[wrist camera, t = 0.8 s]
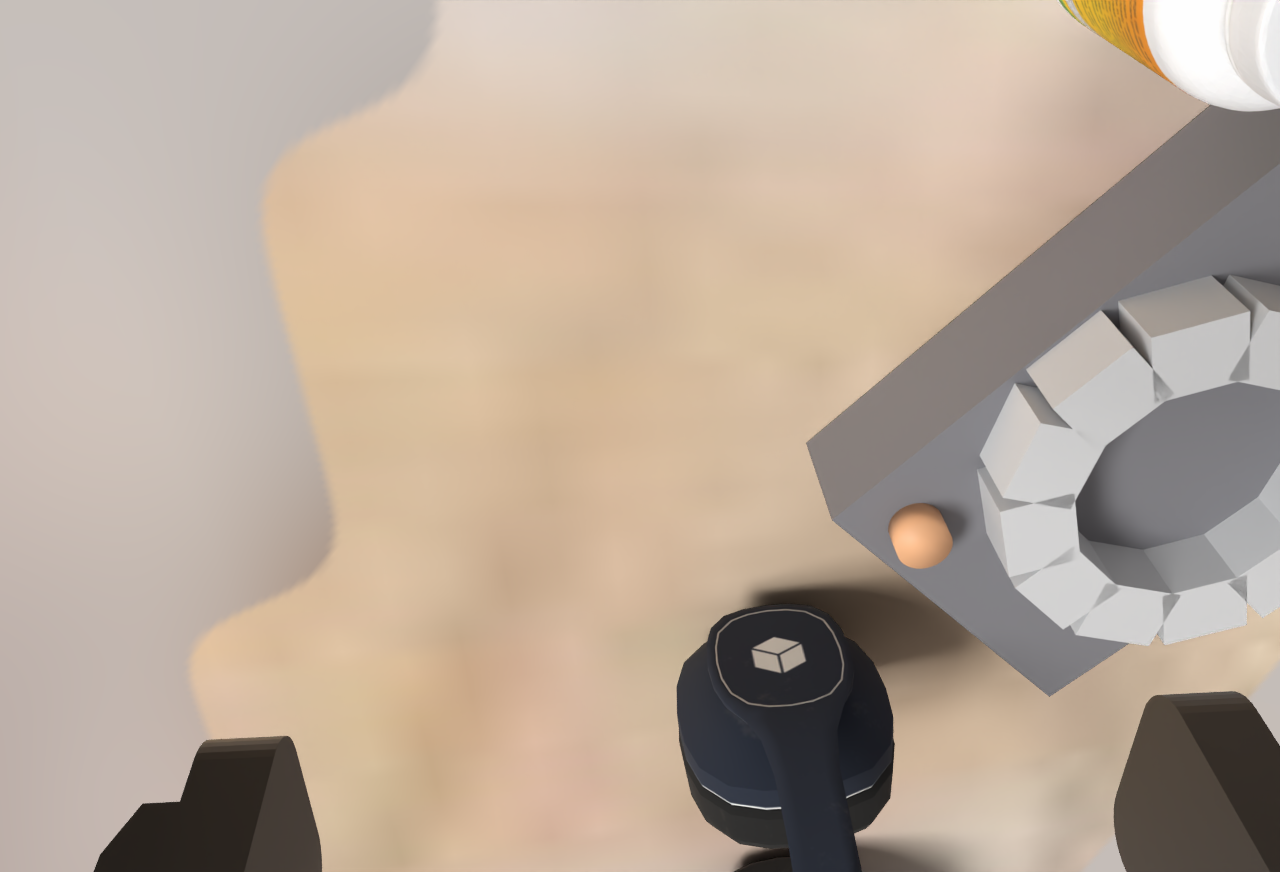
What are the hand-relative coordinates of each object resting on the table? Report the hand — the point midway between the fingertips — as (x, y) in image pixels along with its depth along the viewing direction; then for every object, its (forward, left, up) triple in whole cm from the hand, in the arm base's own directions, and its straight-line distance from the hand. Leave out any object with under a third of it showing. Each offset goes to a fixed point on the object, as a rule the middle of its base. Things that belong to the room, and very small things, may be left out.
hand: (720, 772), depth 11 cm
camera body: (-4, +18, -23) cm, 29 cm away
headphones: (+15, +23, -23) cm, 36 cm away
